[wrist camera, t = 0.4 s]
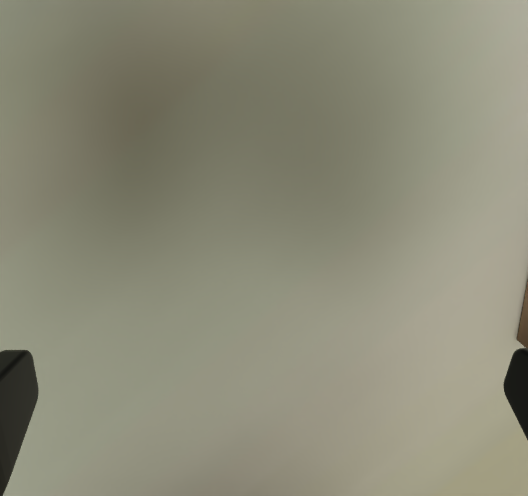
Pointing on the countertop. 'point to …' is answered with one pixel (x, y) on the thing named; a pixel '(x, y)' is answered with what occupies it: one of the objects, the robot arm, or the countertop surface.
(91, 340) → the countertop surface
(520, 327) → the cradle
